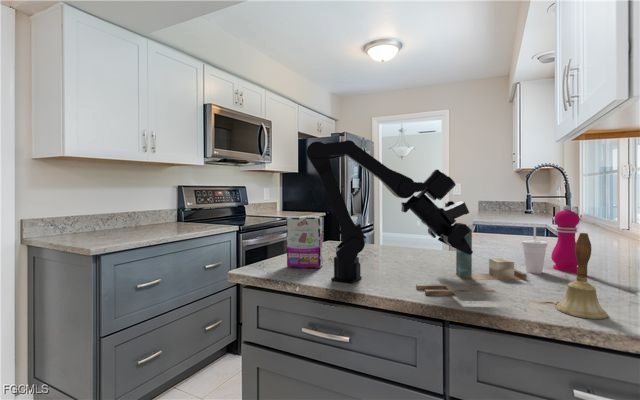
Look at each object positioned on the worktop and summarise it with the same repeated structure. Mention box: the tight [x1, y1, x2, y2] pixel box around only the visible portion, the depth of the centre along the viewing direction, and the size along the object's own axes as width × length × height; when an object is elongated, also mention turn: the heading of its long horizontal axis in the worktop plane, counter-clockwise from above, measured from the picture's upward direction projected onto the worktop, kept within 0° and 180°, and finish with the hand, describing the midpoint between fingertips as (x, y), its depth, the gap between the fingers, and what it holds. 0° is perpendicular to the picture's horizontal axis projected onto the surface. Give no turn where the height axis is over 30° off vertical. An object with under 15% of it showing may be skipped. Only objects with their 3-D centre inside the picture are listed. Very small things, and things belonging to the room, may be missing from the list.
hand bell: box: [555, 232, 609, 320], centre depth 67 cm, size 8×8×16 cm
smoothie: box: [521, 226, 548, 274], centre depth 96 cm, size 6×6×14 cm
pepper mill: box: [550, 204, 580, 275], centre depth 99 cm, size 7×7×20 cm
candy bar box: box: [285, 215, 324, 269], centre depth 109 cm, size 11×5×16 cm, turn 80°
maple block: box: [488, 257, 515, 279], centre depth 91 cm, size 4×4×4 cm
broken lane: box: [415, 282, 496, 297], centre depth 82 cm, size 18×7×1 cm, turn 87°
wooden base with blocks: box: [452, 229, 528, 281], centre depth 91 cm, size 17×6×14 cm, turn 87°
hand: (469, 252), depth 91 cm, fingers closed on wooden base with blocks, 3 cm apart
